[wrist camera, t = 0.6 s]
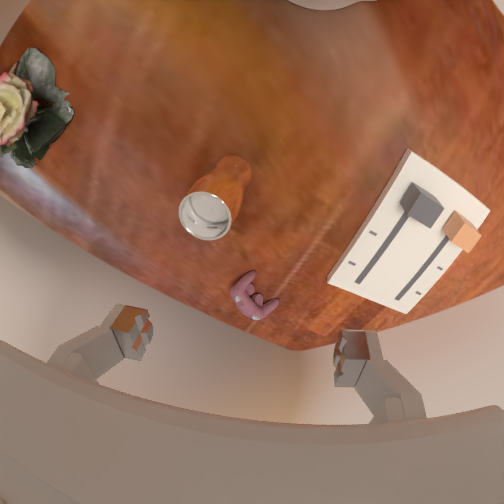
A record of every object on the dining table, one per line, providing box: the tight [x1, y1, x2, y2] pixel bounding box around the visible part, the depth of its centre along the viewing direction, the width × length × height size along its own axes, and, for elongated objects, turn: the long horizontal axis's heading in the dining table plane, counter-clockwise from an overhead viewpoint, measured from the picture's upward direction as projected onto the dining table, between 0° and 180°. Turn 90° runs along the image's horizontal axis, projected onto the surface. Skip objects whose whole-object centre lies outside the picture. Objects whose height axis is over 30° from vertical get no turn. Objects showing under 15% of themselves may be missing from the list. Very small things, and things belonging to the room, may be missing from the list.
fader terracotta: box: [443, 211, 482, 253], centre depth 38 cm, size 4×5×4 cm
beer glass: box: [179, 155, 252, 240], centre depth 39 cm, size 7×7×15 cm
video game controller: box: [230, 271, 279, 320], centre depth 57 cm, size 10×5×7 cm, turn 36°
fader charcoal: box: [400, 182, 445, 229], centre depth 38 cm, size 4×5×4 cm
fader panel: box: [327, 148, 490, 314], centre depth 46 cm, size 28×20×2 cm
